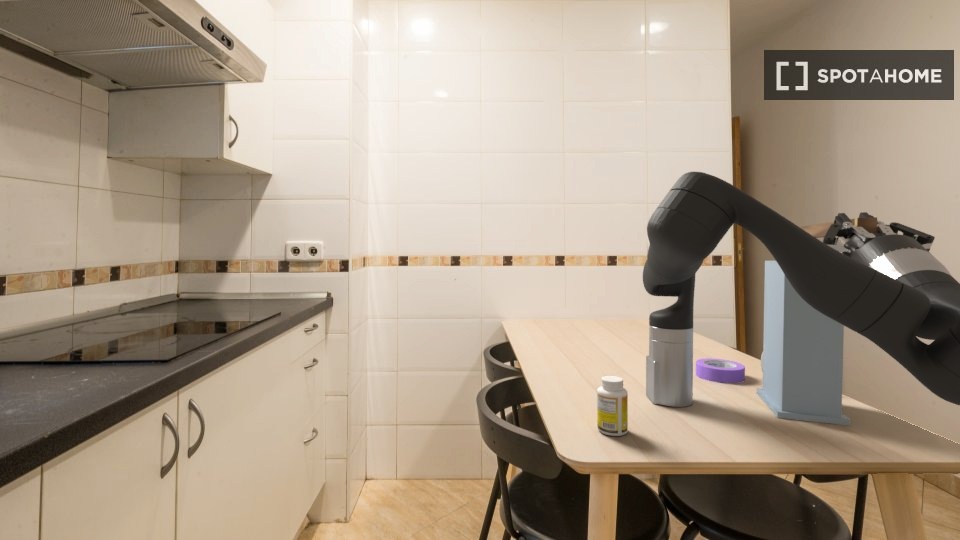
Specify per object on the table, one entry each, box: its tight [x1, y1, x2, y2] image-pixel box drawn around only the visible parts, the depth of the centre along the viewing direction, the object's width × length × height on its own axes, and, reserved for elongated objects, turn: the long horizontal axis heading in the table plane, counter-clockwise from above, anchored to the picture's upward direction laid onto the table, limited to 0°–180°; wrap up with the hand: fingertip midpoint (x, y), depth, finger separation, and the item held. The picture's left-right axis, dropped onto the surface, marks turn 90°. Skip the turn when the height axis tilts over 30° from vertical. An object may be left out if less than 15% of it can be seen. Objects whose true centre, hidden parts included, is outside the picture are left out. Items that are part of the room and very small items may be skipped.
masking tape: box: [695, 357, 746, 384], centre depth 116 cm, size 12×12×4 cm
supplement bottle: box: [596, 375, 629, 437], centre depth 81 cm, size 6×6×10 cm
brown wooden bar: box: [800, 216, 878, 239], centre depth 77 cm, size 2×24×2 cm, turn 160°
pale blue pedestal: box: [756, 260, 851, 426], centre depth 92 cm, size 12×16×34 cm
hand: (850, 218), depth 71 cm, fingers closed on brown wooden bar, 2 cm apart
